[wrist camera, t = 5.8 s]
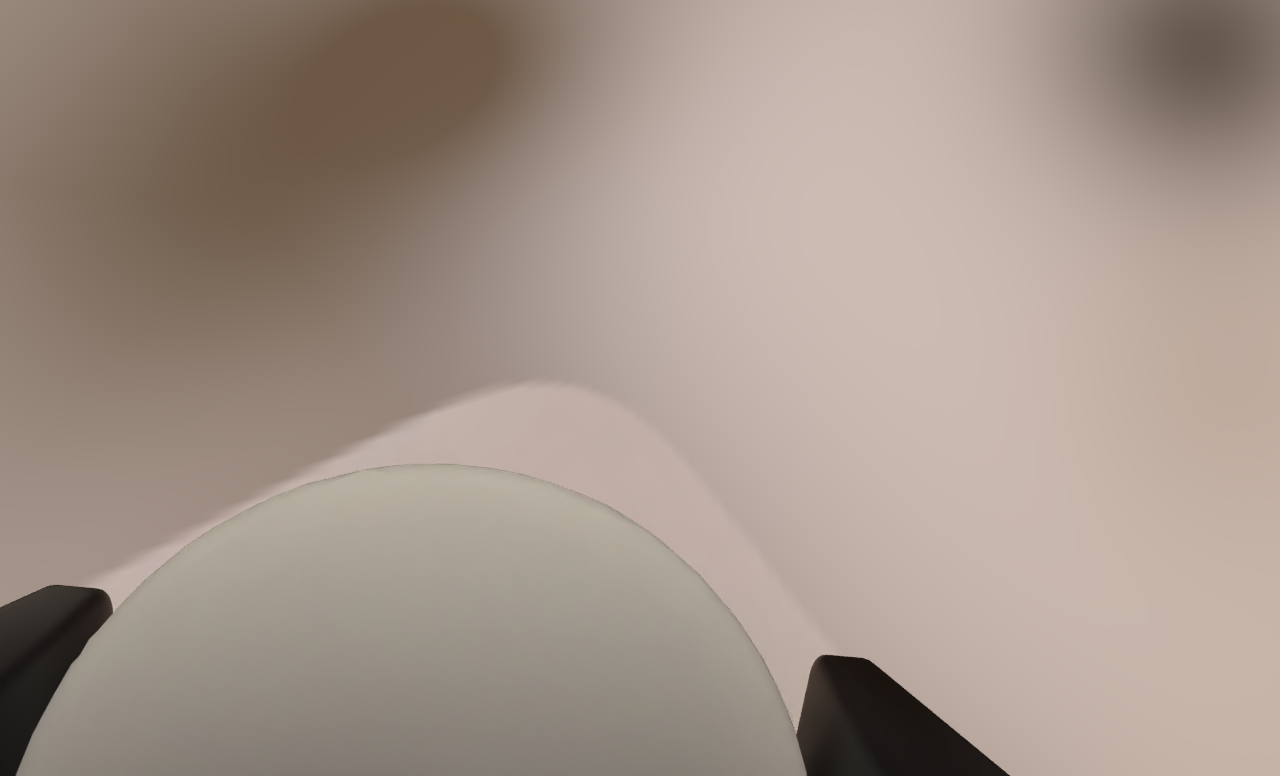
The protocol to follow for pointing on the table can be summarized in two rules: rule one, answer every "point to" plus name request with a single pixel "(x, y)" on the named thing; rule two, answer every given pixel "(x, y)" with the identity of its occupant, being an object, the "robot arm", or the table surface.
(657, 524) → the table surface
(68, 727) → the pill bottle
